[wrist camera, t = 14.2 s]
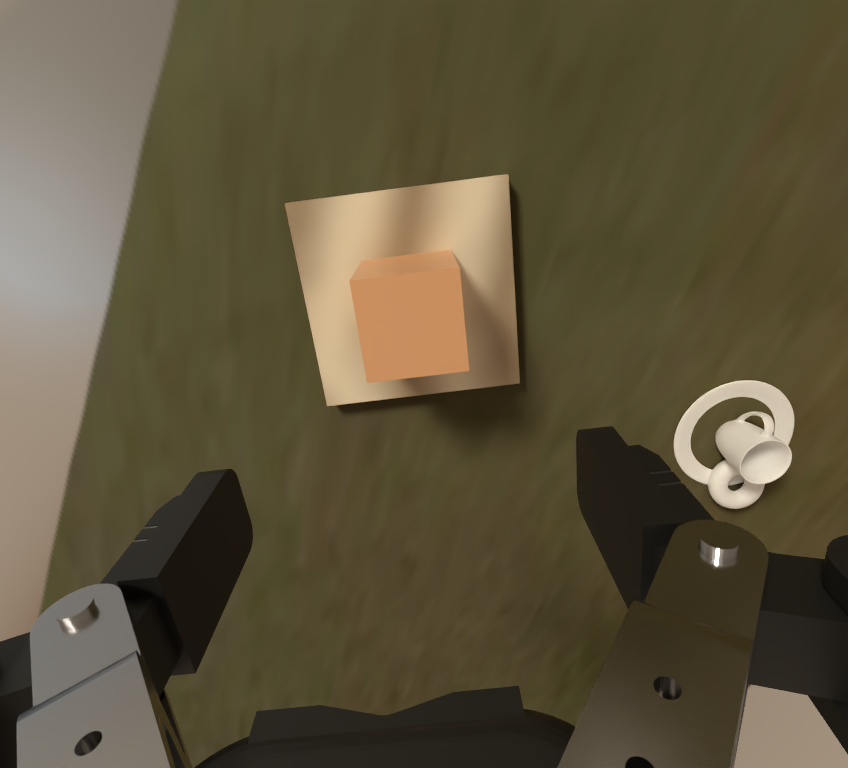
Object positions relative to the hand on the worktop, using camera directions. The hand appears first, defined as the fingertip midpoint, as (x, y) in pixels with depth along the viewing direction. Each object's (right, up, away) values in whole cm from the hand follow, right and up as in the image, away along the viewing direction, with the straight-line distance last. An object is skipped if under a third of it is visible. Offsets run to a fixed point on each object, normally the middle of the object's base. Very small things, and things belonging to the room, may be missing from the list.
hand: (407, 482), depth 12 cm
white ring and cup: (+19, -3, +24) cm, 31 cm away
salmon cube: (0, +7, +18) cm, 19 cm away
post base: (0, +8, +19) cm, 20 cm away
